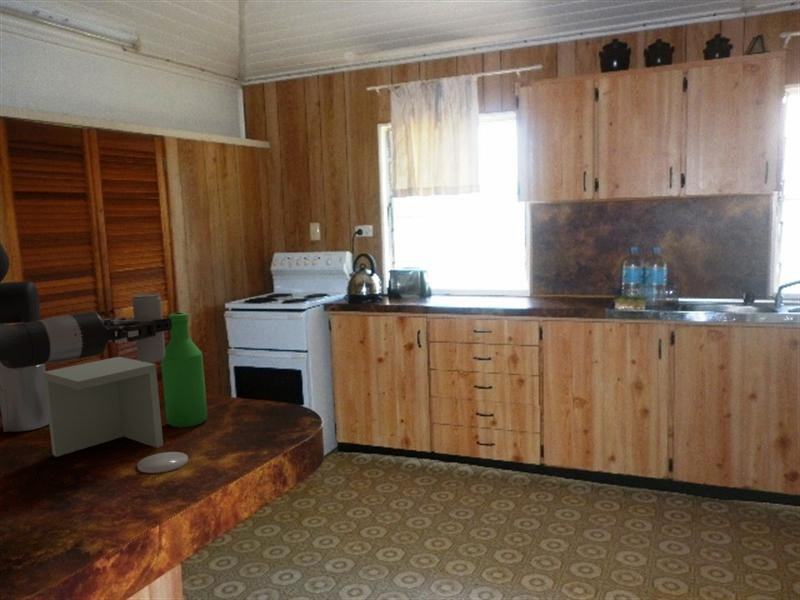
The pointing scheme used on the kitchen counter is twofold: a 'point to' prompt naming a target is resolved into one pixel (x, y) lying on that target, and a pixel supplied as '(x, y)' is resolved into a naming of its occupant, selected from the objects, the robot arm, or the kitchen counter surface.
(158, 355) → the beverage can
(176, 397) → the bottle
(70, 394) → the shelf housing
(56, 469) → the kitchen counter surface
